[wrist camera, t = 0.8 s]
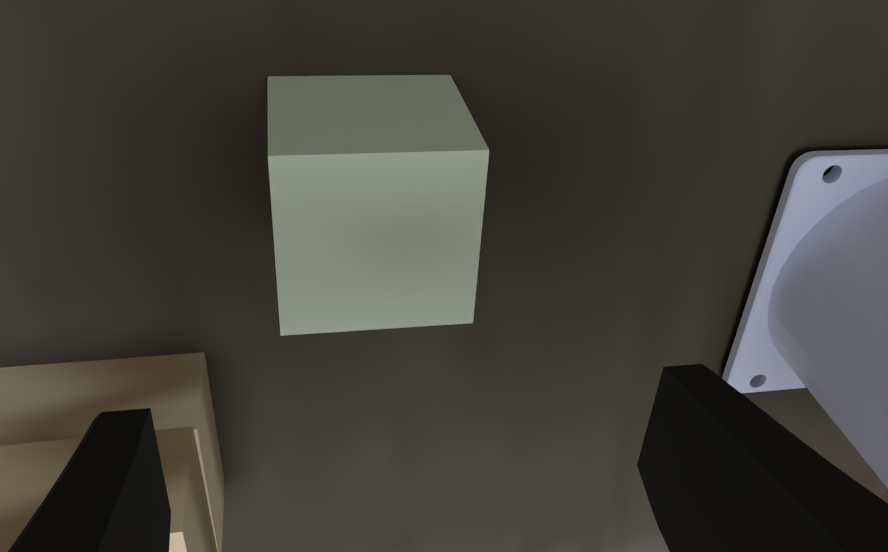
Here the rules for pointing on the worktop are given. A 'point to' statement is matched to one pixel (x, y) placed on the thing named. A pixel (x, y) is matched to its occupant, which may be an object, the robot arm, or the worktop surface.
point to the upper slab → (40, 463)
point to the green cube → (374, 201)
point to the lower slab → (116, 405)
